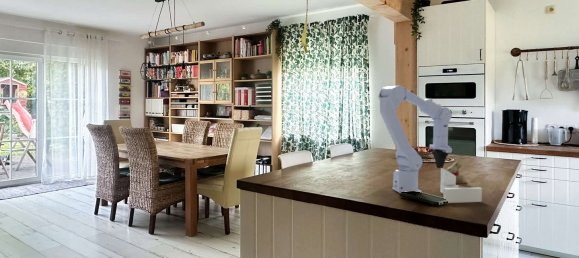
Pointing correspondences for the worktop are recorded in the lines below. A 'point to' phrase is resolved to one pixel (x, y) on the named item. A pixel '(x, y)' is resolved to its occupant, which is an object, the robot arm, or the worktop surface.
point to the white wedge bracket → (447, 180)
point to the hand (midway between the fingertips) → (439, 167)
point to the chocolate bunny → (457, 172)
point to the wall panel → (463, 195)
